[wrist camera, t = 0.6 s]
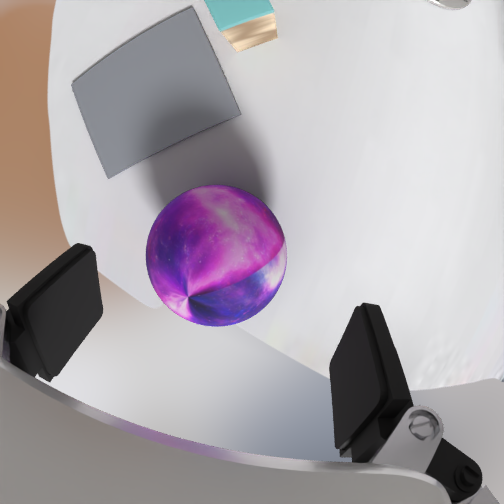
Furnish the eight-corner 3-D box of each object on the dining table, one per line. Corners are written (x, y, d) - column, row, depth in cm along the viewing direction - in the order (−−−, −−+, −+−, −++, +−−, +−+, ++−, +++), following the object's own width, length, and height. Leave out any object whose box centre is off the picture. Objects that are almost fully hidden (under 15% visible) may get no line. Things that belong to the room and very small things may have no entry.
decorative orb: (156, 198, 37) (93, 245, 24) (261, 154, 33) (243, 180, 20) (203, 290, 43) (171, 364, 29) (302, 261, 39) (307, 338, 25)
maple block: (261, 6, 25) (251, -30, 16) (277, 38, 27) (273, 9, 18) (222, 20, 26) (199, -10, 17) (237, 52, 28) (218, 29, 19)
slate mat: (193, 8, 26) (192, 7, 25) (241, 114, 31) (240, 114, 31) (73, 84, 31) (71, 84, 30) (110, 178, 37) (108, 179, 36)
